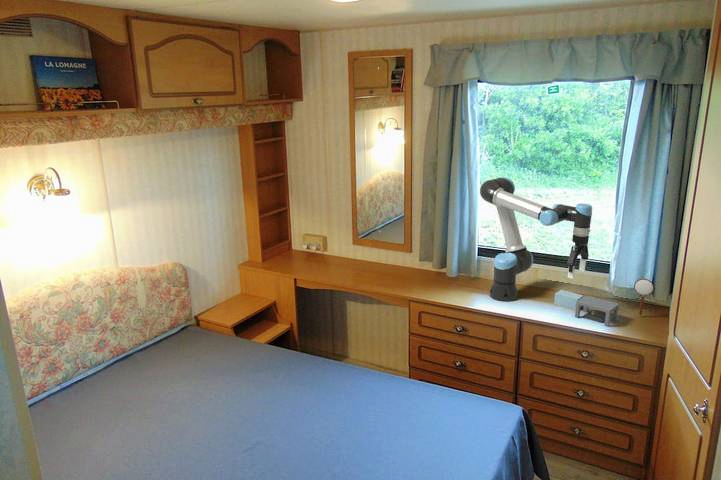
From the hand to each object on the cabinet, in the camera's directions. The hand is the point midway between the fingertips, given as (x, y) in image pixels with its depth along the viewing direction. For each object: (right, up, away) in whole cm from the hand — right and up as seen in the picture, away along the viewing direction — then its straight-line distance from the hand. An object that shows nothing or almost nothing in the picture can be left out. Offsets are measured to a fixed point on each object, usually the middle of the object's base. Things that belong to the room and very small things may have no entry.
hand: (576, 274), depth 270 cm
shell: (-2, -16, +7) cm, 18 cm away
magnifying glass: (+28, -21, -9) cm, 36 cm away
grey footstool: (+6, -21, -9) cm, 24 cm away
